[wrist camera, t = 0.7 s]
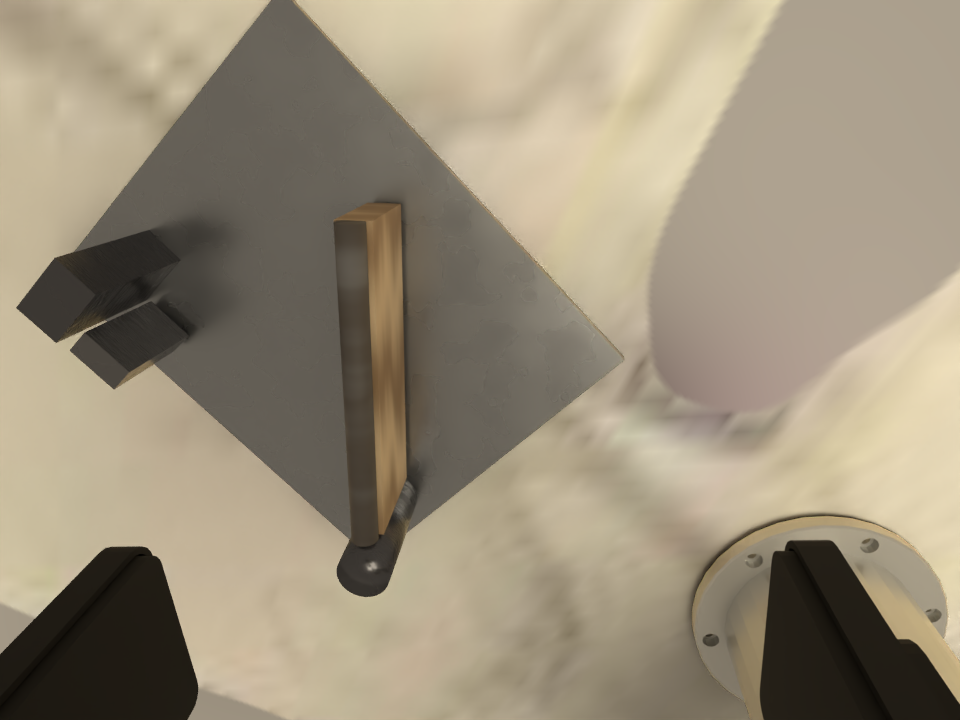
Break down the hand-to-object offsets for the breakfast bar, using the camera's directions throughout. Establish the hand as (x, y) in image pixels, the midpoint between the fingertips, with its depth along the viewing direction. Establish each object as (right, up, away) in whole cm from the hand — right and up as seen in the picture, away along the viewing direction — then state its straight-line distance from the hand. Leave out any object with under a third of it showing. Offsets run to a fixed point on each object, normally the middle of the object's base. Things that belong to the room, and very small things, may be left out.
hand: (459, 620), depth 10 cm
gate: (-4, +4, +22) cm, 23 cm away
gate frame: (-7, +6, +23) cm, 25 cm away
